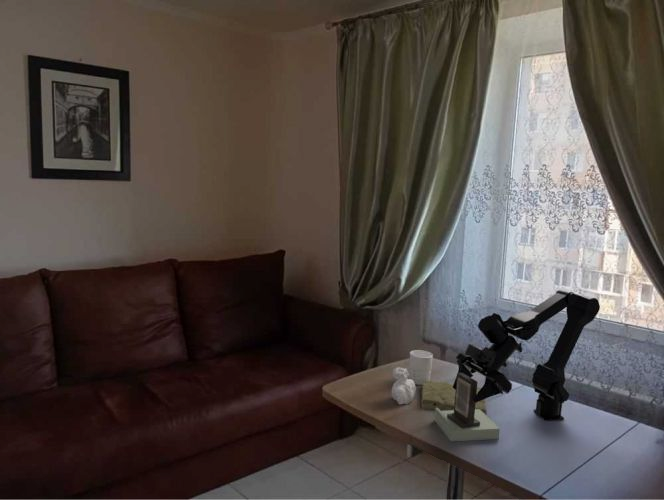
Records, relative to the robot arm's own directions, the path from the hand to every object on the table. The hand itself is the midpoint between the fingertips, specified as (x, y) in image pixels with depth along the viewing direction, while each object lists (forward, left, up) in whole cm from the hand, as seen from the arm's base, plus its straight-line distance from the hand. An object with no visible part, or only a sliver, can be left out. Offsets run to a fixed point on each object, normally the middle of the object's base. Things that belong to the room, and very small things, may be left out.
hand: (463, 394), depth 146 cm
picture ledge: (-2, -1, -11) cm, 11 cm away
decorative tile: (-6, -19, -12) cm, 23 cm away
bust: (+10, -22, -11) cm, 27 cm away
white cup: (-1, -36, -11) cm, 38 cm away
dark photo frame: (-1, 0, -8) cm, 8 cm away
